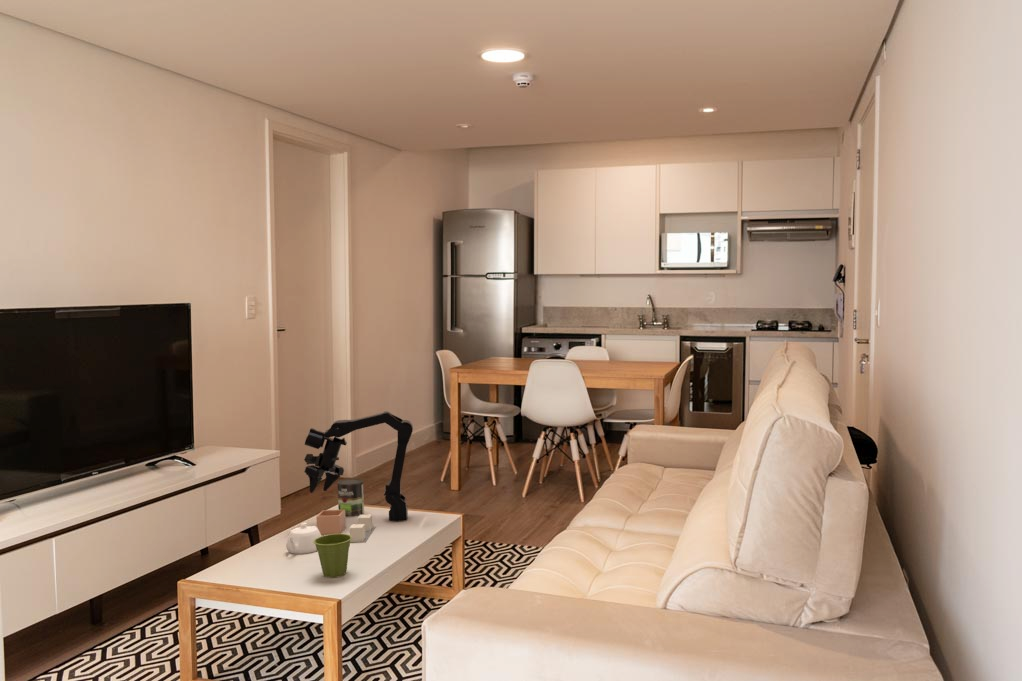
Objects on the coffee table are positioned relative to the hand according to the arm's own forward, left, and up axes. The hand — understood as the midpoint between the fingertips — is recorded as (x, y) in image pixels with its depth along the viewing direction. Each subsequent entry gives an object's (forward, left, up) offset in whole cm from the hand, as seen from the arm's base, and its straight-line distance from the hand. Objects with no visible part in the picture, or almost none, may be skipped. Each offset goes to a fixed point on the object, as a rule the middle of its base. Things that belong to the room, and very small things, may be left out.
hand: (317, 491), depth 305 cm
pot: (-7, +10, -14) cm, 18 cm away
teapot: (-3, +31, -14) cm, 34 cm away
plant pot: (-19, +54, -14) cm, 59 cm away
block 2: (-19, +9, -13) cm, 25 cm away
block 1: (-19, +22, -13) cm, 32 cm away
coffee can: (-9, -15, -14) cm, 23 cm away
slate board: (-19, +15, -14) cm, 28 cm away
